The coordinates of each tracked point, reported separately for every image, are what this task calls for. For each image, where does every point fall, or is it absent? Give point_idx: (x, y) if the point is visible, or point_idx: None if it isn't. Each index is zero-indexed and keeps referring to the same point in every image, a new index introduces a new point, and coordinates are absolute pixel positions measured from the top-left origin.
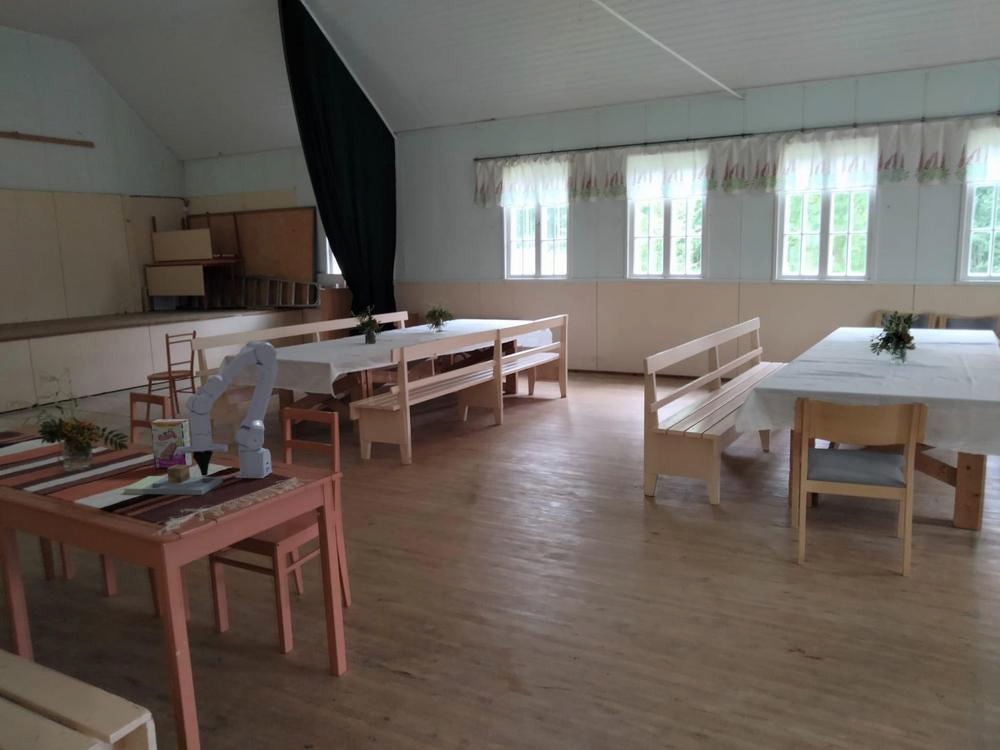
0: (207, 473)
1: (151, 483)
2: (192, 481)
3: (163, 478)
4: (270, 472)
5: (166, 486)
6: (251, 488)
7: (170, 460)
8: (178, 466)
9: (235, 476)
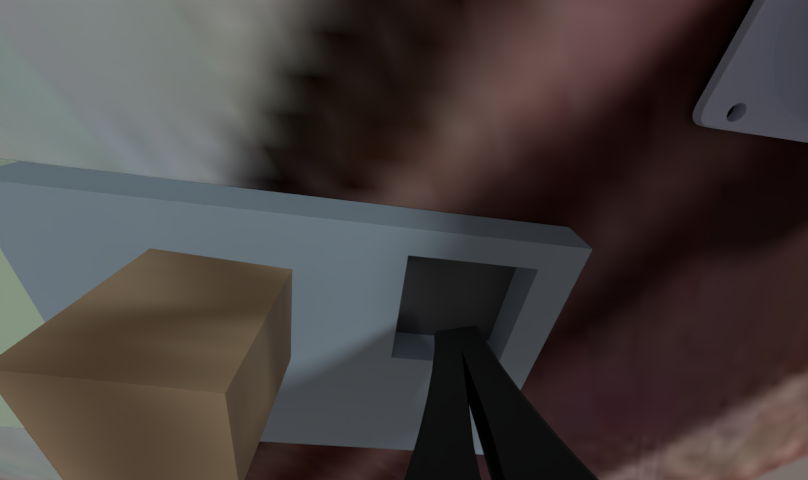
0: (481, 335)
1: None
2: (359, 337)
3: (11, 247)
4: None
5: None
6: (754, 358)
7: None
8: (132, 436)
9: (705, 119)
